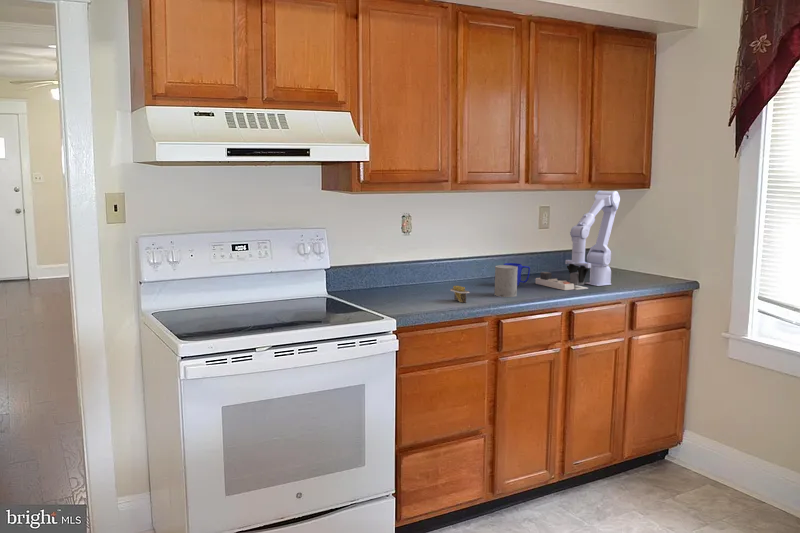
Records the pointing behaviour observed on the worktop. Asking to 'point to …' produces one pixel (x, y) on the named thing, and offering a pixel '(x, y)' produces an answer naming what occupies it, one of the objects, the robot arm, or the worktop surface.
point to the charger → (575, 279)
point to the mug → (519, 271)
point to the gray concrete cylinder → (506, 280)
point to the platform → (459, 293)
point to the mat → (579, 287)
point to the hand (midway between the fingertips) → (577, 281)
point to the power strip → (553, 282)
